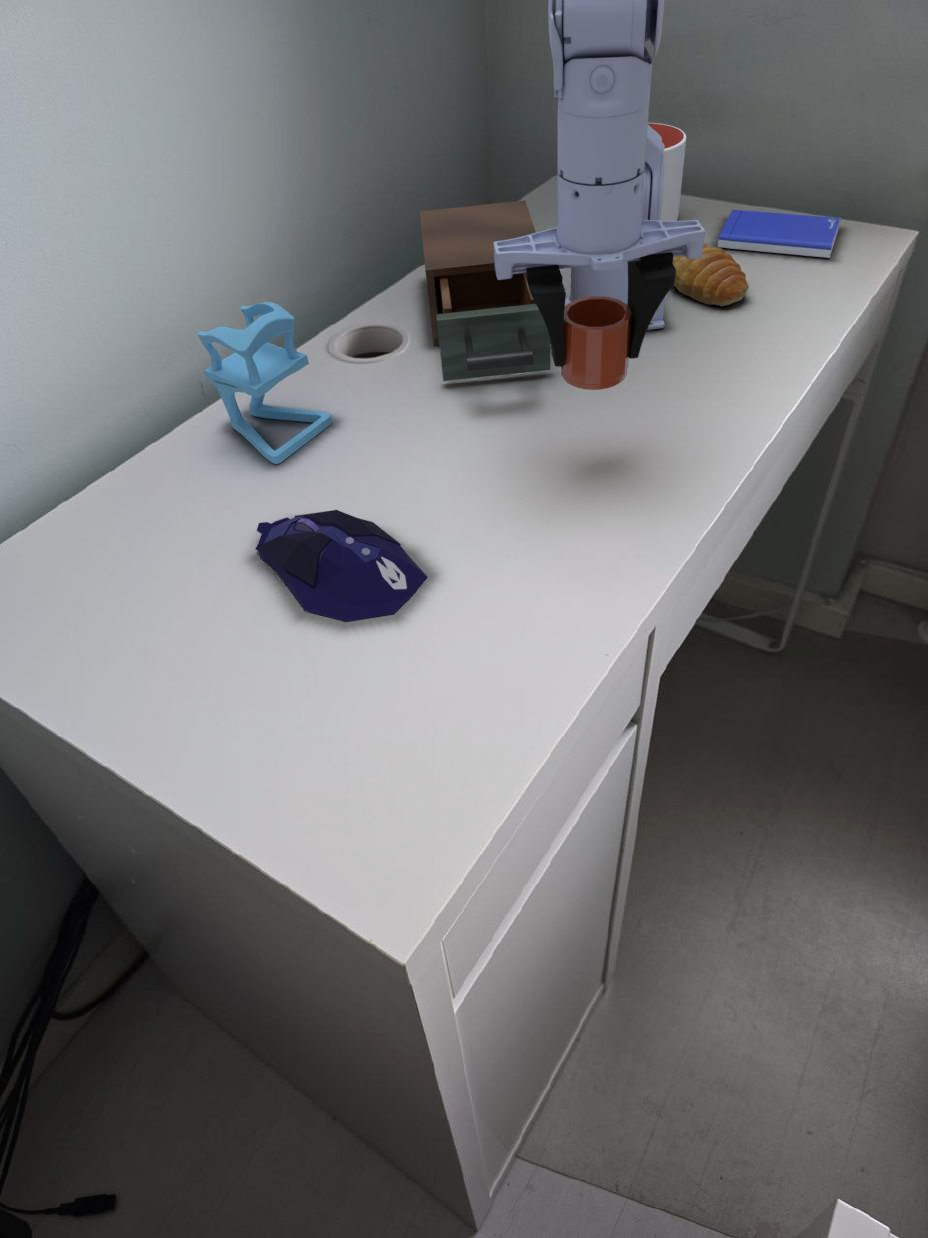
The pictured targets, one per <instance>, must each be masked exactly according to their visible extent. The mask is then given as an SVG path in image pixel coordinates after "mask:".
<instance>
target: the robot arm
mask: <svg viewBox="0 0 928 1238" xmlns="http://www.w3.org/2000/svg"><path fill="white" fill-rule="evenodd" d="M547 7H548V9H547V10H548V11H547V12H548V18H547V19H548V38H549V46H550V51H551V58H552V65H553V67H552V68H553V69H552V70H553V97H554V98H557V99H558V101H557V166H556V167H557V170H556V172H557V173H556V174H557V175H556V180H557V181H556V182H557V183H556V227H551V228H548V229H545V230H540V231H536V233H533V234H530V235H526V236H522V237H518V238H514V239H509V240H504V241H496V242H494V262H495V271H496V276H497V279H498V280H503V279H510V278H512V277H513V274H518V273H525V276H526V280H527V283H528V287H529V290H530V293H531V295H532V297H533V299H534V302H535V303H536V305H537V307H538V309H539V311H540V313H541V315H542V317H543V319H544V322H545V324H546V327H547V330H548V333H549V338H550V349H551V359H552V360H553V361H552V362H553V364H554V366H555V367H556V368H557V367H558V368H559V367H561V366H564V363H565V349H564V334H563V325H564V309H565V306H566V305H567V304H569V303H571V302H572V301H574V300H576V299H581V298H585V297H591V296H605V297H610V298H615V299H619V300H621V301H622V302H624V303H626V304H627V305H629V307H630V310H631V312H632V319H631V334H630V346H629V360H631V359H633V360H634V359H638V358H639V356H640V352H641V349H642V346H643V343H644V339H645V336H646V334H647V332H648V331H650V330H659V329H663V328H665V325H666V323H665V321H664V317H665V316H664V315H665V303H666V296H667V295H668V294H669V292H671V290H672V288H674V286H673V285H674V282H675V278H676V269H675V267H674V265H673V257H676V256H685V257H686V258H687V259H697V258H702V254H703V246H704V243H705V236H706V229H704V227H703V225H702V224H701V222H700V220H698V219H690V220H677V221H660V218H661V208H662V197H663V183H664V144H663V143H662V137H661V136H660V135H659V134H658V133H657V132H656V131H655V130H654V129H652V128H651V127H650V126H649V125H648V123H649V112H650V99H651V88H652V87H651V86H652V72H653V71H652V70H653V58H654V59H657V55H658V52H659V48H660V45H661V41H662V34H663V24H664V23H663V22H664V11H665V10H664V9H665V0H548V6H547ZM647 42H650V43H651V45H652V47H653V57H652V56H651V54H650V52H649V50H648V49H647V47H646V45H645V44H646V43H647ZM562 269H570V297H567V293H566V292H567V291H566V290H565V286H564V283H563V274H562V272H561V270H562Z"/></svg>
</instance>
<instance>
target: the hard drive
mask: <svg viewBox="0 0 928 1238" xmlns="http://www.w3.org/2000/svg"><path fill="white" fill-rule="evenodd" d="M841 220H842V218H841V217H835V216H822V215H821V216H820V215H810V214H809V215H808V214H795V213H783V212H769V211H758V210H757V211H756V210H742V209H732V210H731V212H730V213H729V215H728V218H727V220H726V222H725V223H724V225H723V228H722V229H721V231H720V233H719V235H718V236H719V237H718V241H717V247H719V248H721V249H732V250H743V251H754V252H762V253H763V252H764V253H775V254H785V255H794V256H795V255H796V256H806V257H816V258H826V259H830V258H831V255H832V252H833V248H834V245H835V243H836V239H837V236H838V233H839V230H840V225H841Z"/></svg>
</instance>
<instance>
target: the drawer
mask: <svg viewBox="0 0 928 1238" xmlns="http://www.w3.org/2000/svg"><path fill="white" fill-rule="evenodd" d="M439 283H440V293H441V303H442V313H443V314H437V315H436V316H437V325H438V335H439V345H438V346H439V353H440V354H439V355H440V363H441V373H442V381H443V382H449V381H459V380H466V379H467V380H468V379H469V380H470V379H479V378H487V377H496V376H504V375H505V376H506V375H514V374H524V373H525V374H526V373H535V372H542V371H544V372H545V371H551V369H552V368H551V361H552V360H551V359H552V353H551V344H550V338H549V333H548V330H547V327H546V324H545V322H544V319H543V317H542V315H541V313H540V311H539V309H538V307H537V305H536V303H535V302H534V299H533V297H532V295H531V293H530V290H529V287H528V283H527V280H526V276H525V273H518V274H513V277H512V278H510V279H503V280H498V279H497V276H496V271H495V270H493V271H484V272H474V273H465V274H456V275H446V276H439Z"/></svg>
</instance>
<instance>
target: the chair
mask: <svg viewBox="0 0 928 1238" xmlns="http://www.w3.org/2000/svg"><path fill="white" fill-rule="evenodd" d="M240 311H241V313H242V314H243V316H244V320H245V324H246V327H245V328H243V329H237V328H236V329H235V328H231V327H228V326H217V327H215V328H212V329H211V330H208V331H198V332H197V336H198V338H199V340H200V342H201V344H202V345H203V347H204V348H205V349H206V351H207V353H208V354H209V357H210V359H211V360H210V361H211V365H210V366H208V367H207V368H206V369H205V370H204V372H203V373H204V375H205V378H206V380H208V381H210V382H211V383H212V384H213V386H214V387H215V389H216V390H217V392H218V394H219V396H220V398H221V400H222V403H223V404H224V405H223V406H224V408H226V409H225V410H226V412H227V414H228V416H229V420H230V423H231V424H230V425H231V428H232V429H233V430H235V431H237V432H238V433H239V434H240V435H241V436H242V437H243V438H245V440H247V441H248V442H249V443H250V444H251V445H252V447H254V448H255V449H256V450H257V451H258V452H259V453H260V454H261V455H262V456H263V458H265V459H266V460H267V461H268V462H270V463H272V464H273V465H279V464H281V463H282V462H283V461H285V460H286V459H288V458H289V457H290V456H291V455H293V454H294V453H295V452H297V451H298V450H299V449H300V448H302V447H303V446H304V445H306V444H307V443H309V442H310V441H311V440H313V439H314V438H315V437H317V435H319V434H320V433H322V432H323V431H324V430H326V429H327V428H328V427H329V426H331V425H332V416H331V414H330V413H329V412H326V411H320V410H313V409H305V408H294V407H284V406H277V405H269V404H265V403H264V399H265V396H266V394H267V393H268V392H270V391H271V390H272V389H273V388H274V387H275V386H276V385H277V384H279V383H280V382H281V381H284V380H285V379H286V378H287V377H290V376H292V375H293V374H295V373H297V372H299V371H300V370H302V369H303V368H305V367H306V366H308V365H309V364H310V363H309V358H308V354H306V353H302V352H300V351H298V350H297V349H296V346H295V342H294V340H295V339H294V337H295V326H296V325H295V324H296V319H295V317H294V316H293V315H292V314H290V312H289V311H287V310H286V309H285V308H284V307H283V306H280V305H279V304H277V303H275V302H272V301H263V302H258V303H255V304H253V305H241V306H240ZM259 315H260V316H259ZM256 316H257V317H258V316H259V317H258V318H257V319H255V320H254V317H256ZM284 334H285V337H284V347H281V346H278V345H275V344H273V343H271V342H269V341H271V340H272V339H275V338H277V337H279V336H281V335H284ZM213 343H214V344H215V343H216V344H219V345H221V346H223V347H226V348H227V349H229V350H230V351H232V352H233V353H231V354H230V355H228V356H227V357H224V358H223V359H222V356H221V355H220V353H219V351H218V349H217V348H216V347H215V346H214V345H213ZM235 393H244V394H246V395H248V396H251V397H250V401H249V404H248V407H249V414H250V415H251V416H253V417H257V418H263V419H270V420H271V419H273V420H282V421H292V422H293V421H294V422H305V423H311V424H310V425H308V426H307V427H305V428H304V429H303V430H301V431H300V432H299V433H298V434H296V435H295V436H294V437H292V438H291V439H289V440H288V441H287V442H285V443H283V444H282V445H281V446H280V447H278V448H277V449H273V448H272V447H271V446H270V445H269V444H268V443H267V442H266V441H265V439H264V438H263V437H262V436H261V435H260V434H259V433H258V432H257V430H256V429H255V428H254V427H253V425H251V424H250V423H249V422H248V421H247V420H246V419H245V418H244V417H243V415H242V412H241V410H240V407H239V405H238V402H237V399H236V394H235Z"/></svg>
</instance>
